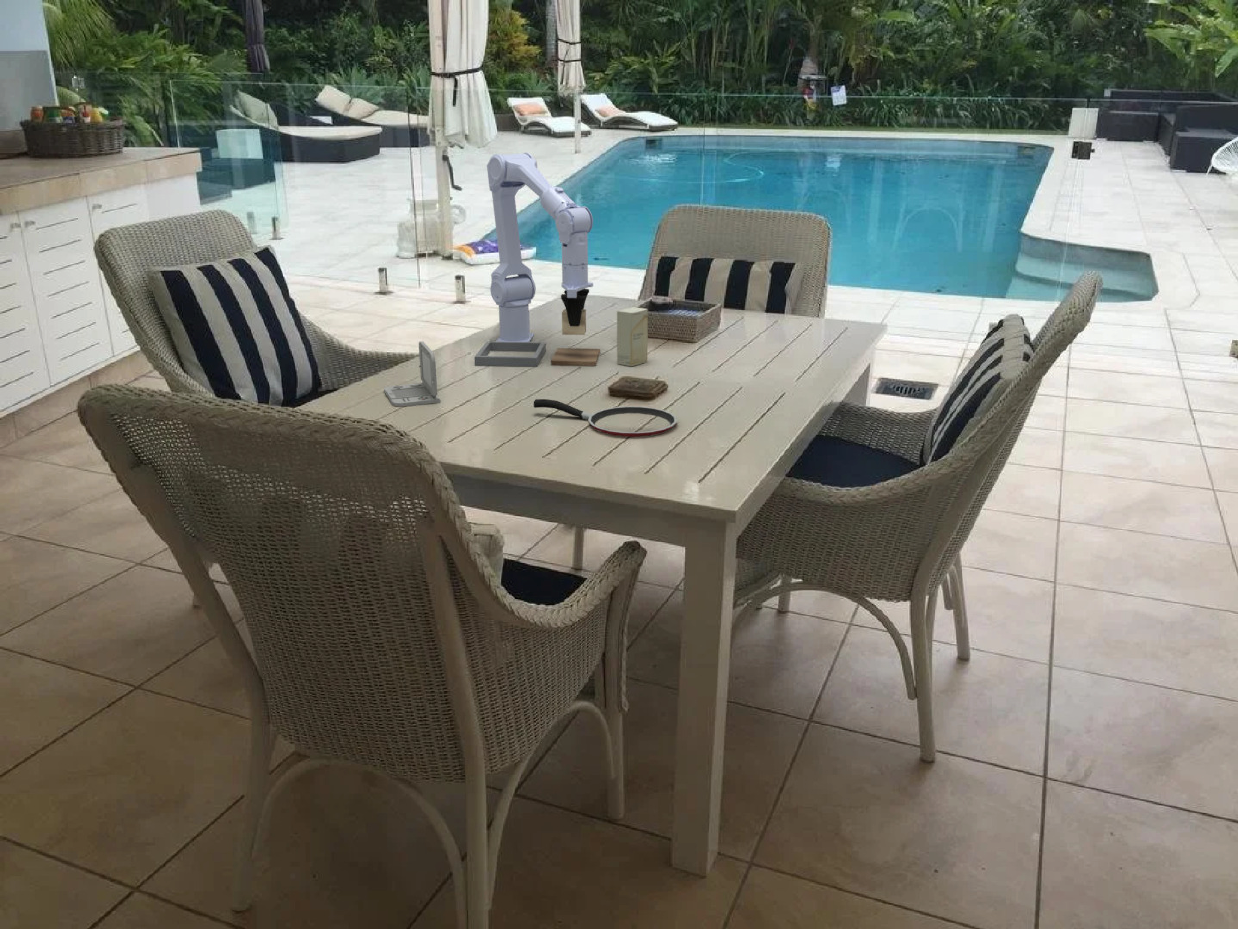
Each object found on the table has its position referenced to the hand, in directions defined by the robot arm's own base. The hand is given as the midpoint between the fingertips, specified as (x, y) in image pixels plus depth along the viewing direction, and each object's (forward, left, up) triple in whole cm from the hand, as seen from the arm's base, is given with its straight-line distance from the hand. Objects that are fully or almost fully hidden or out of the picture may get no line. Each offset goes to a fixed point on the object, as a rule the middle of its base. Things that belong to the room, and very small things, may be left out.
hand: (575, 323), depth 239 cm
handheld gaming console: (+32, -30, -8) cm, 45 cm away
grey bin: (0, -15, -8) cm, 17 cm away
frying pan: (+46, +10, -9) cm, 48 cm away
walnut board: (0, 0, -8) cm, 8 cm away
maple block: (0, 0, -2) cm, 2 cm away
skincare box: (+2, +13, -8) cm, 16 cm away
